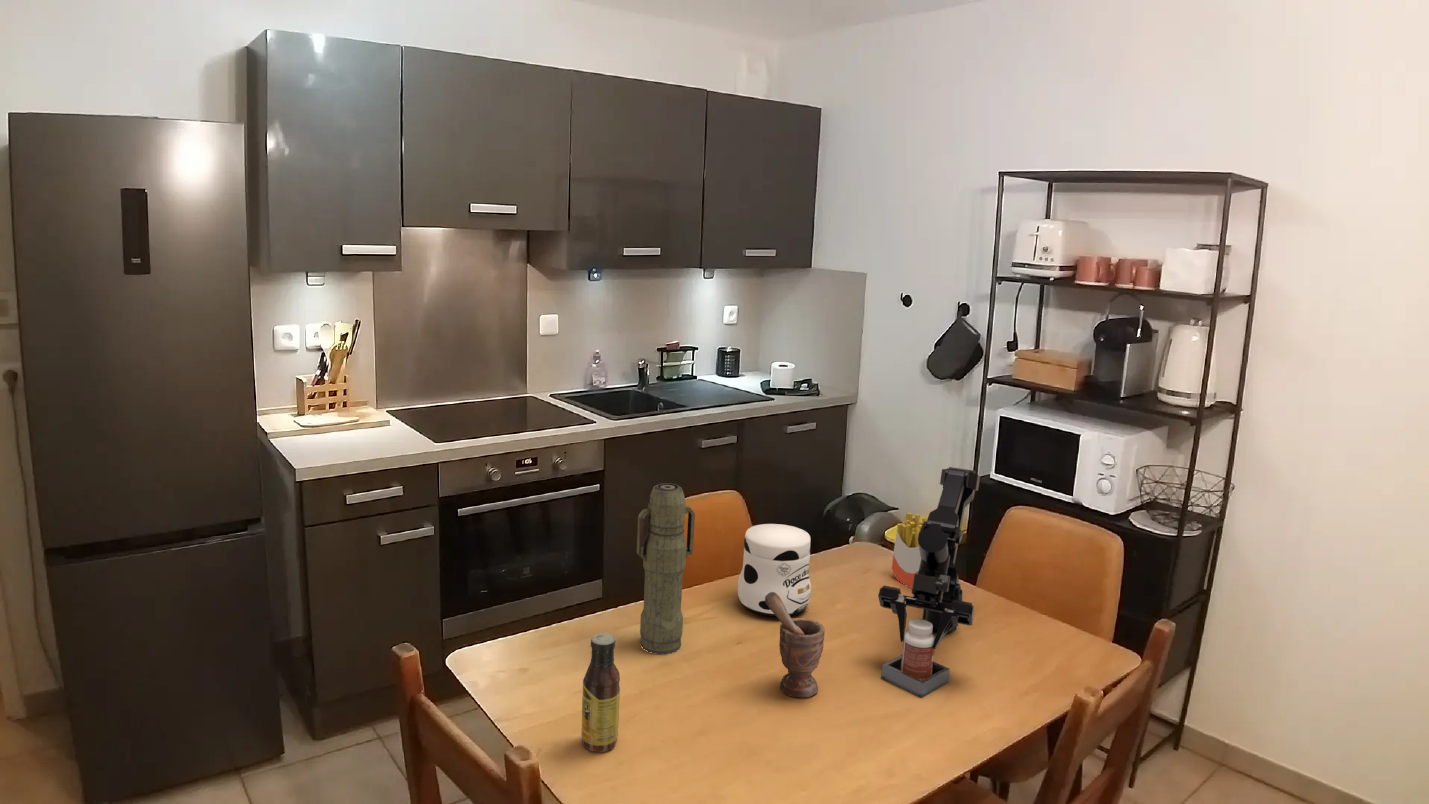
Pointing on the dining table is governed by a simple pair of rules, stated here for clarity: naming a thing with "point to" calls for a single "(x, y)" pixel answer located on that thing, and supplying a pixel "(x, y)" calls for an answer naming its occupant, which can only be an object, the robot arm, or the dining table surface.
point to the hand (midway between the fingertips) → (917, 644)
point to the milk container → (775, 568)
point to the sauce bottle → (601, 696)
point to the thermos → (664, 567)
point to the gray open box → (912, 684)
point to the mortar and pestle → (797, 649)
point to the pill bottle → (918, 649)
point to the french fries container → (907, 549)
